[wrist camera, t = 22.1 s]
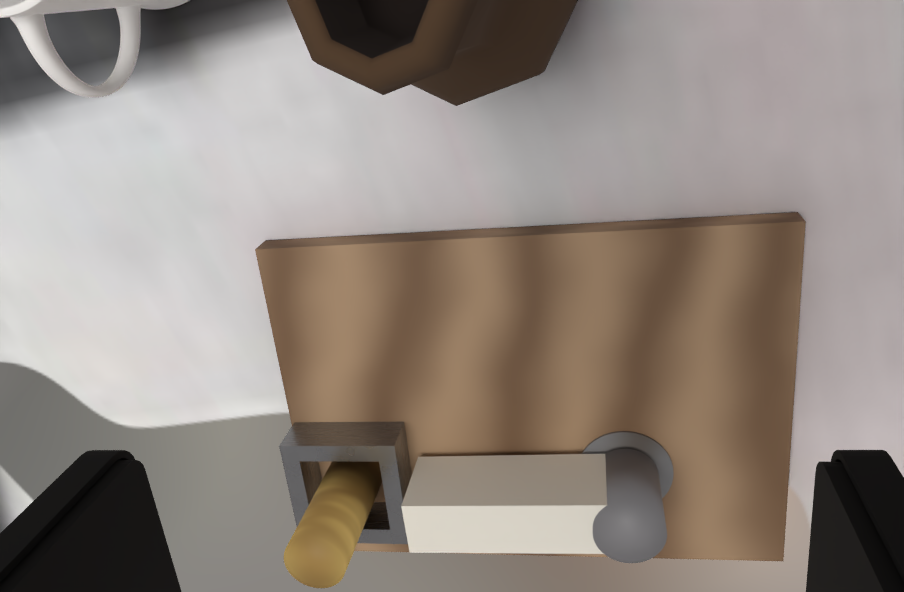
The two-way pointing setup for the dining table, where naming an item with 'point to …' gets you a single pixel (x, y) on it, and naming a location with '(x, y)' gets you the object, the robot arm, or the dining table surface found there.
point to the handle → (537, 505)
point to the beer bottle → (433, 42)
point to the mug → (30, 4)
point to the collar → (351, 444)
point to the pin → (333, 523)
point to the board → (564, 353)
